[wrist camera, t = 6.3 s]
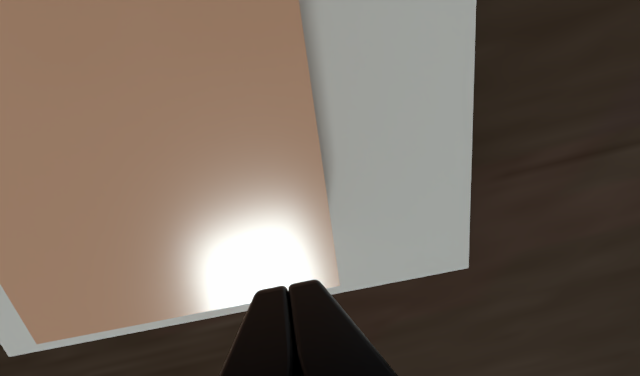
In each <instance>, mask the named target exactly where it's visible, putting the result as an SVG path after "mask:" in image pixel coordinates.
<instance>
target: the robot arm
mask: <svg viewBox="0 0 640 376" xmlns="http://www.w3.org/2000/svg"><path fill="white" fill-rule="evenodd" d="M219 376H398V375H397V374H396V373H395V372H394V371H393V369H392V368H391V367H390V366H389V364H388V363H387V362H386V361H385V360H384V358H383V357H382V356H381V355H380V354H379V352H378V351H377V350H376V349H375V347H374V346H373V345H372V344H371V343H370V341H369V340H368V339H367V338H366V337H365V335H364V334H363V333H362V332H361V330H360V329H359V328H358V327H357V326H356V324H355V323H354V322H353V321H352V320H351V318H350V317H349V316H348V315H347V314H346V312H345V311H344V310H343V309H342V307H341V306H340V305H339V304H338V303H337V301H336V300H335V299H334V298H333V297H332V295H331V294H330V293H329V292H328V290H327V289H326V288H325V287H324V286H323V284H322V283H321V282H320V281H318V280H316V279H313V280H308V281H303V282H298V283H293V284H291V285H290V286H289V288H288V289H287V288H286V287H285V286H277V287H272V288H267V289H262V290H259V291H257V292H256V293H255V295H254V297H253V299H252V301H251V303H250V306H249V308H248V310H247V313H246V315H245V317H244V320H243V322H242V324H241V326H240V329H239V331H238V333H237V336H236V338H235V340H234V343H233V345H232V347H231V349H230V352H229V354H228V356H227V359H226V361H225V363H224V366H223V368H222V370H221V372H220V375H219Z"/></svg>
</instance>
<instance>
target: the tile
mask: <svg viewBox="0 0 640 376" xmlns="http://www.w3.org/2000/svg"><path fill="white" fill-rule="evenodd" d="M313 279H316V280H318V281H320V282H321V283H322V284H323V286H324V287H325V288H332V287H337V286H340V281H339V274H338V267H337V261H336V254H335V247H334V240H333V233H332V226H331V219H330V212H329V205H328V198H327V192H326V185H325V178H324V171H323V164H322V157H321V150H320V143H319V136H318V129H317V123H316V116H315V109H314V102H313V95H312V88H311V81H310V74H309V67H308V60H307V54H306V47H305V40H304V33H303V26H302V19H301V12H300V5H299V0H0V285H1V286H2V288H3V290H4V291H5V293H6V295H7V296H8V298H9V299H10V301H11V303H12V304H13V306H14V308H15V309H16V311H17V313H18V314H19V316H20V318H21V319H22V321H23V323H24V324H25V326H26V328H27V329H28V331H29V333H30V334H31V336H32V337H33V339H34V341H35V342H36V344H41V343H46V342H52V341H57V340H62V339H67V338H72V337H77V336H83V335H88V334H93V333H98V332H103V331H109V330H114V329H119V328H124V327H129V326H135V325H140V324H145V323H150V322H155V321H160V320H166V319H171V318H176V317H181V316H186V315H192V314H197V313H202V312H207V311H212V310H218V309H223V308H228V307H233V306H238V305H243V304H249V303H251V301H252V299H253V297H254V295H255V293H256V292H257V291H259V290H262V289H267V288H272V287H277V286H285V287H286V288H287V289H288V288H289V286H290V285H291V284H293V283H298V282H303V281H308V280H313Z"/></svg>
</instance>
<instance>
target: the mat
mask: <svg viewBox="0 0 640 376" xmlns="http://www.w3.org/2000/svg"><path fill="white" fill-rule="evenodd" d="M299 5H300V12H301V19H302V26H303V33H304V40H305V47H306V54H307V60H308V67H309V74H310V81H311V88H312V95H313V102H314V109H315V116H316V123H317V129H318V136H319V143H320V150H321V157H322V164H323V171H324V178H325V185H326V192H327V198H328V205H329V212H330V219H331V226H332V233H333V240H334V247H335V254H336V261H337V267H338V274H339V281H340V286H337V287H332V288H326V289H327V290H328V292H329V293H330V294H337V293H342V292H347V291H352V290H357V289H362V288H368V287H373V286H378V285H383V284H388V283H393V282H399V281H404V280H409V279H414V278H419V277H425V276H430V275H435V274H440V273H445V272H450V271H456V270H461V269H466V268H469V234H470V199H471V164H472V129H473V94H474V59H475V25H476V0H299ZM249 306H250V303H249V304H243V305H238V306H233V307H228V308H223V309H218V310H212V311H207V312H202V313H197V314H192V315H186V316H181V317H176V318H171V319H166V320H160V321H155V322H150V323H145V324H140V325H135V326H129V327H124V328H119V329H114V330H109V331H103V332H98V333H93V334H88V335H83V336H77V337H72V338H67V339H62V340H57V341H52V342H46V343H41V344H36V342H35V341H34V339H33V337H32V336H31V334H30V333H29V331H28V329H27V328H26V326H25V324H24V323H23V321H22V319H21V318H20V316H19V314H18V313H17V311H16V309H15V308H14V306H13V304H12V303H11V301H10V299H9V298H8V296H7V295H6V293H5V291H4V290H3V288H2V286H1V285H0V344H1V345H2V347H3V348H4V350H5V351H6V353H7V354H8V356H9V357H11V356H16V355H21V354H26V353H31V352H37V351H42V350H47V349H52V348H57V347H63V346H68V345H73V344H78V343H83V342H88V341H94V340H99V339H104V338H109V337H114V336H119V335H125V334H130V333H135V332H140V331H145V330H150V329H156V328H161V327H166V326H171V325H176V324H181V323H187V322H192V321H197V320H202V319H207V318H212V317H218V316H223V315H228V314H233V313H238V312H244V311H247V310H248V308H249Z"/></svg>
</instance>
